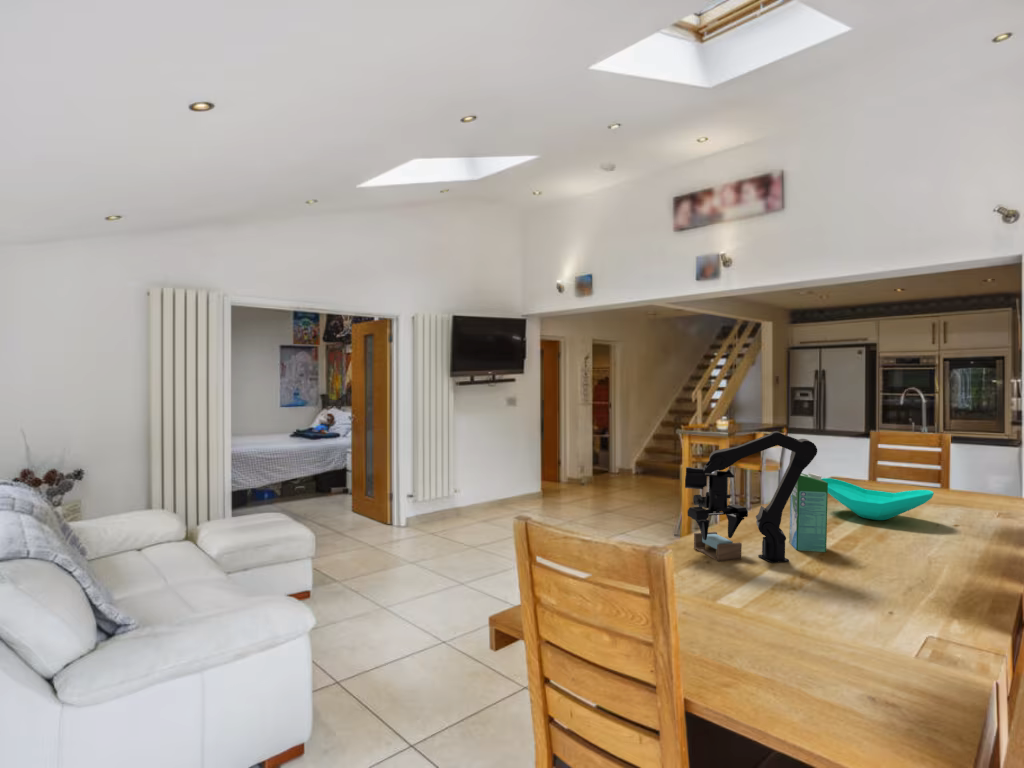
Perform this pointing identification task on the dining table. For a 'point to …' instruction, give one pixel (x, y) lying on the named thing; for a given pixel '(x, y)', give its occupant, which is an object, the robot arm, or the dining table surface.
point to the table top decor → (876, 500)
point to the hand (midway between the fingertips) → (717, 538)
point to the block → (715, 540)
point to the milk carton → (809, 513)
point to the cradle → (718, 549)
